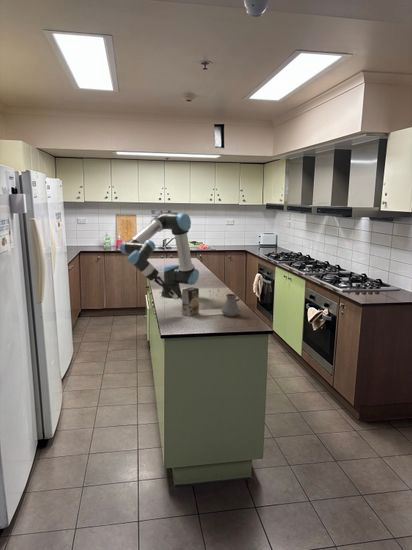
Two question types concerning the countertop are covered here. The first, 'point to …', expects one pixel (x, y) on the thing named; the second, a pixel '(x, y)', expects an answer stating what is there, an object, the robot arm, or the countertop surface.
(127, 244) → the robot arm
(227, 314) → the coffee pot
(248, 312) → the countertop surface
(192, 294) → the coffee box
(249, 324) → the countertop surface
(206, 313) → the mat
